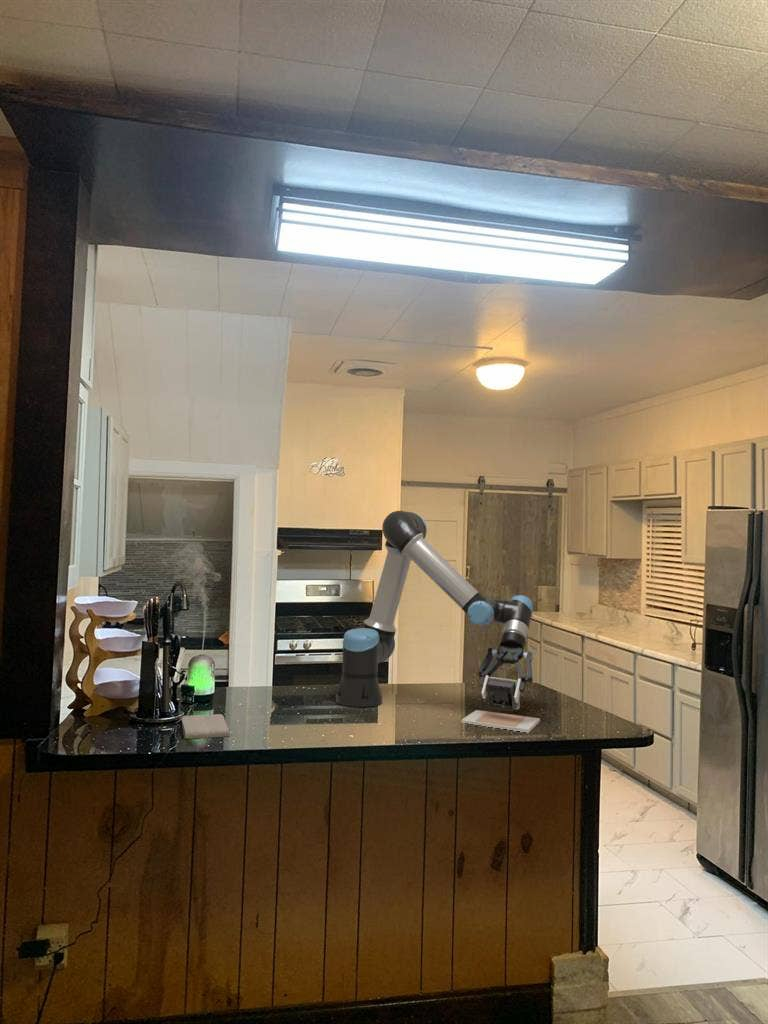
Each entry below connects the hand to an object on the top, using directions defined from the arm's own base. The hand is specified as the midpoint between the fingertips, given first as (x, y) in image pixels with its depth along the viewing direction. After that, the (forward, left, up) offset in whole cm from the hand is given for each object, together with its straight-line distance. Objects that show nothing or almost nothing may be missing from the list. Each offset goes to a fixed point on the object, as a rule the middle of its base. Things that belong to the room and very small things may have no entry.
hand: (499, 697), depth 212 cm
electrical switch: (0, +3, -4) cm, 5 cm away
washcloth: (-69, -49, -9) cm, 85 cm away
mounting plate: (0, +3, -8) cm, 9 cm away
